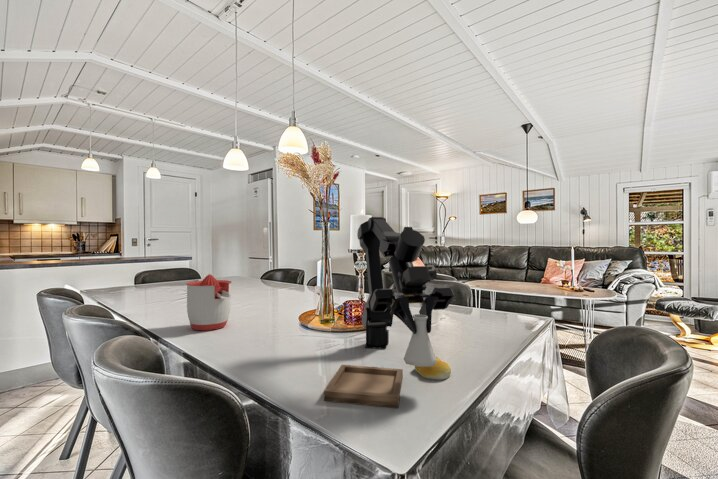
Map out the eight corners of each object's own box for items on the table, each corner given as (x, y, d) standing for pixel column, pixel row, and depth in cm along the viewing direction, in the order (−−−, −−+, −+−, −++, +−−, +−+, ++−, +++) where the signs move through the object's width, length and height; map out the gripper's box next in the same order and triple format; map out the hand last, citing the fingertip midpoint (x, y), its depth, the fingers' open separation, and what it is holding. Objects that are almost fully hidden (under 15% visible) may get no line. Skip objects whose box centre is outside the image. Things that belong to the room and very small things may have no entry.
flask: (436, 369, 68) (436, 320, 68) (401, 366, 70) (401, 318, 70) (437, 357, 75) (437, 313, 75) (405, 354, 77) (405, 311, 77)
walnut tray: (324, 400, 68) (324, 390, 68) (341, 372, 83) (341, 364, 83) (398, 408, 65) (398, 397, 65) (402, 377, 80) (402, 369, 80)
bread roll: (429, 383, 77) (429, 366, 77) (410, 369, 86) (410, 354, 86) (459, 378, 80) (459, 361, 80) (437, 365, 89) (437, 350, 89)
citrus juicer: (206, 335, 114) (206, 277, 115) (176, 329, 123) (177, 274, 124) (243, 326, 128) (243, 273, 128) (214, 320, 137) (214, 271, 137)
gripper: (374, 252, 74) (389, 313, 63) (450, 252, 78) (477, 309, 68) (365, 283, 82) (377, 342, 71) (435, 281, 86) (456, 337, 75)
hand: (422, 332), depth 71 cm, fingers closed on flask, 3 cm apart
